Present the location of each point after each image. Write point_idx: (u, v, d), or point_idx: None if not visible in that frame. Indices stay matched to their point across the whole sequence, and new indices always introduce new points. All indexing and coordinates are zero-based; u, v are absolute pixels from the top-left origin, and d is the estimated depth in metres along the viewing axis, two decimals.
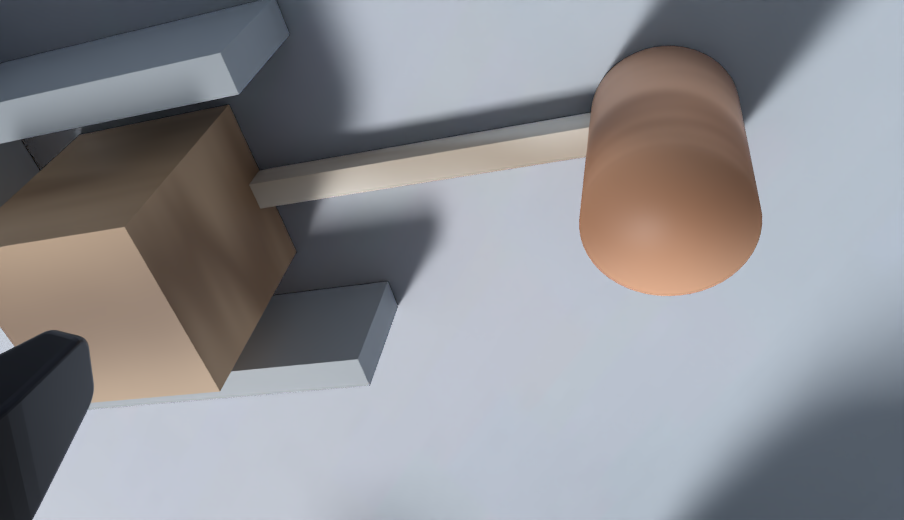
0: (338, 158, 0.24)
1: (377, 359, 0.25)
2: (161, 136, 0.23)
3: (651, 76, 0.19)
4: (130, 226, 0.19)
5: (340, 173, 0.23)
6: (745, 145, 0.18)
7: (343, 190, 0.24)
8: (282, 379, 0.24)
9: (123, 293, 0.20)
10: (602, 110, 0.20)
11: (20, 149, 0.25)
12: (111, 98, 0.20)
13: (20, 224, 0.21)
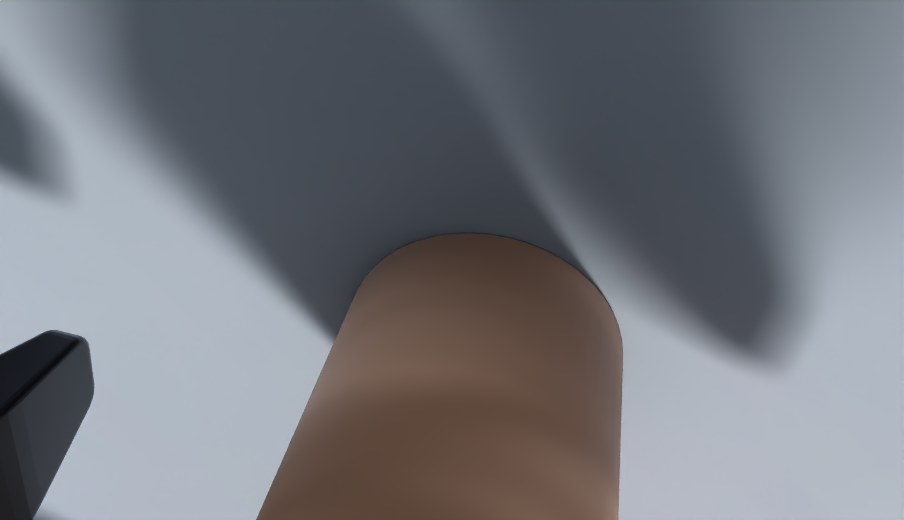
0: None
1: None
2: None
3: None
4: None
5: None
6: (401, 430, 0.08)
7: None
8: None
9: None
10: None
11: None
12: None
13: None
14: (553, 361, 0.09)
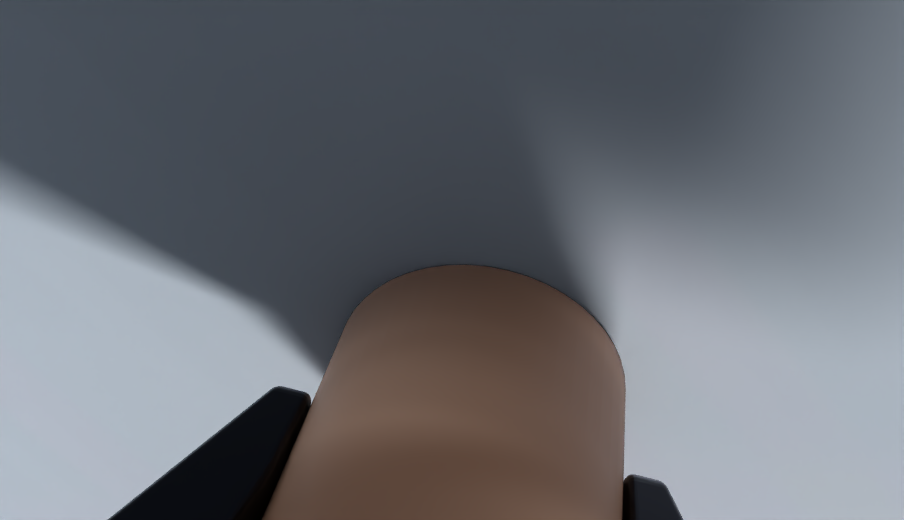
0: None
1: None
2: None
3: None
4: None
5: None
6: (390, 487, 0.07)
7: None
8: None
9: None
10: None
11: None
12: None
13: None
14: (553, 405, 0.08)
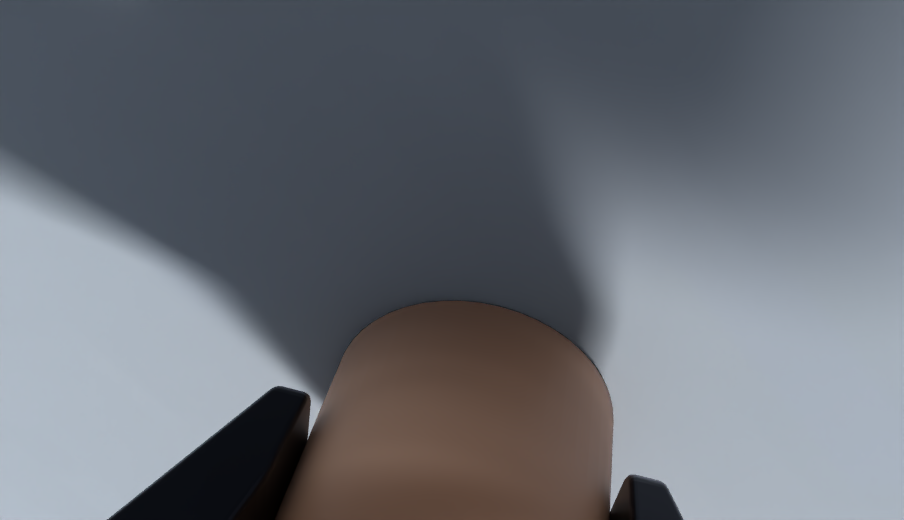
0: None
1: None
2: None
3: None
4: None
5: None
6: None
7: None
8: None
9: None
10: None
11: None
12: None
13: None
14: (542, 443, 0.09)
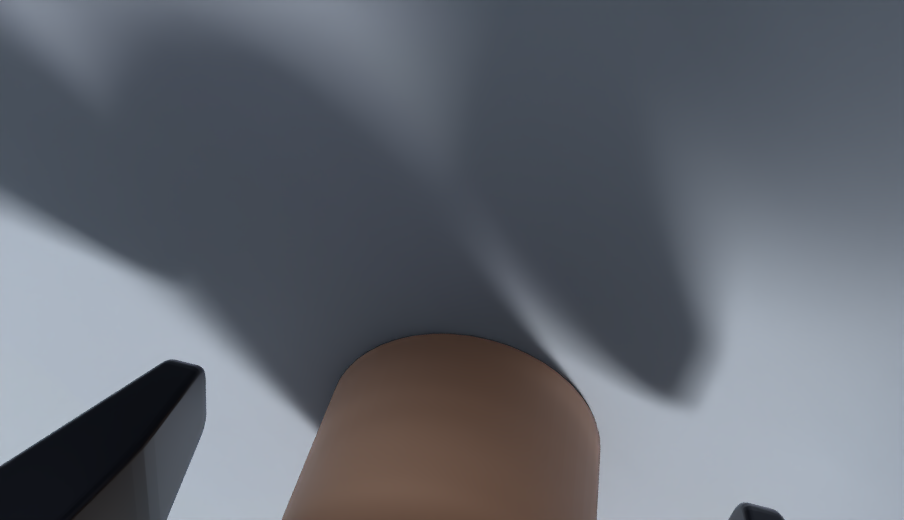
0: None
1: None
2: None
3: None
4: None
5: None
6: None
7: None
8: None
9: None
10: None
11: None
12: None
13: None
14: (529, 477, 0.09)
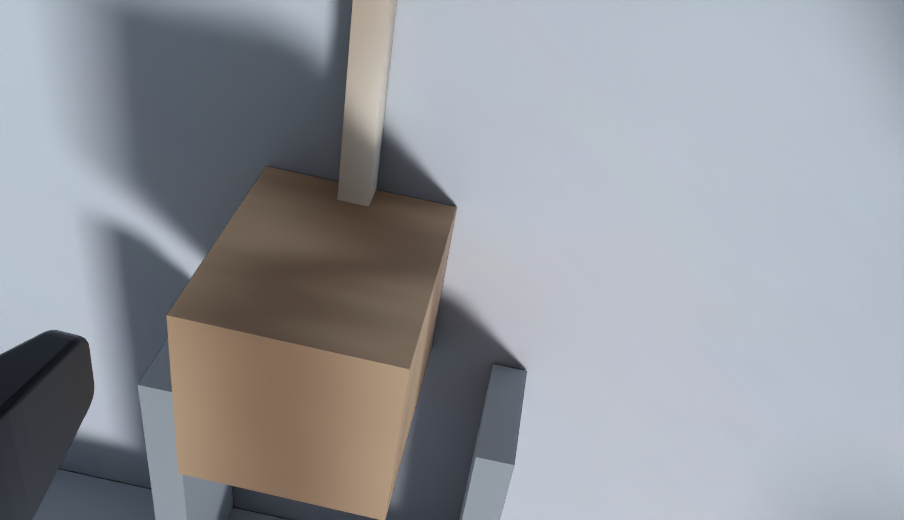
0: None
1: (515, 435, 0.23)
2: None
3: None
4: (175, 311, 0.17)
5: (351, 100, 0.20)
6: None
7: (371, 109, 0.20)
8: None
9: (249, 370, 0.18)
10: None
11: None
12: (164, 465, 0.24)
13: None
14: None
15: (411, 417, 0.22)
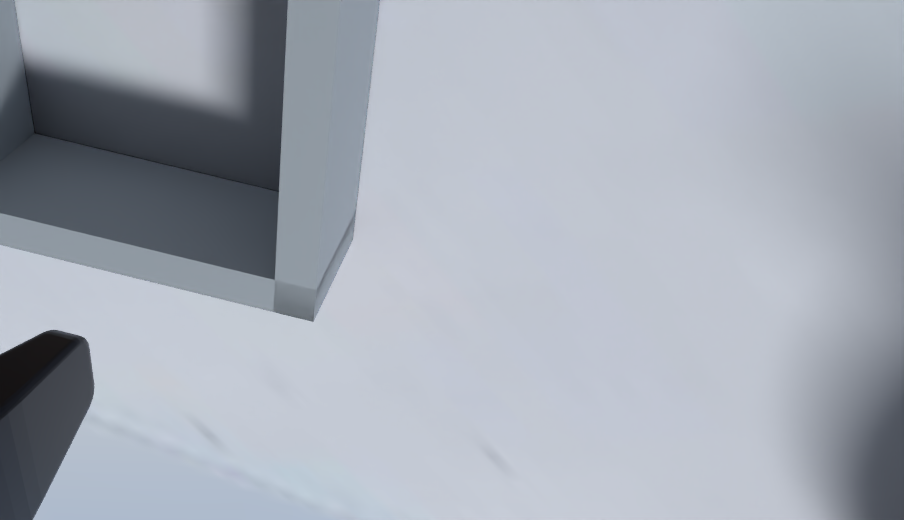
0: None
1: None
2: None
3: None
4: None
5: None
6: None
7: None
8: None
9: None
10: None
11: (83, 149, 0.23)
12: None
13: None
14: None
15: None
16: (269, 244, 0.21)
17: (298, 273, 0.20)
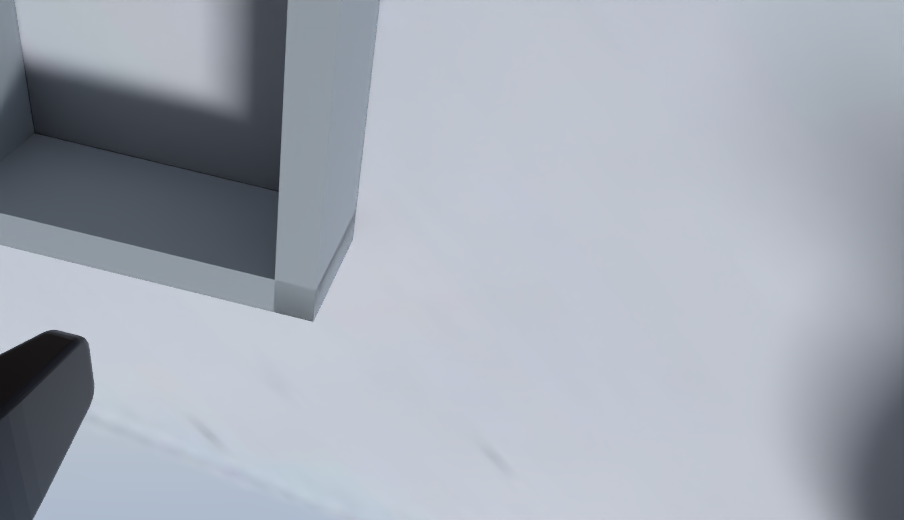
0: None
1: None
2: None
3: None
4: None
5: None
6: None
7: None
8: None
9: None
10: None
11: (83, 149, 0.23)
12: None
13: None
14: None
15: None
16: (269, 244, 0.21)
17: (298, 273, 0.20)
